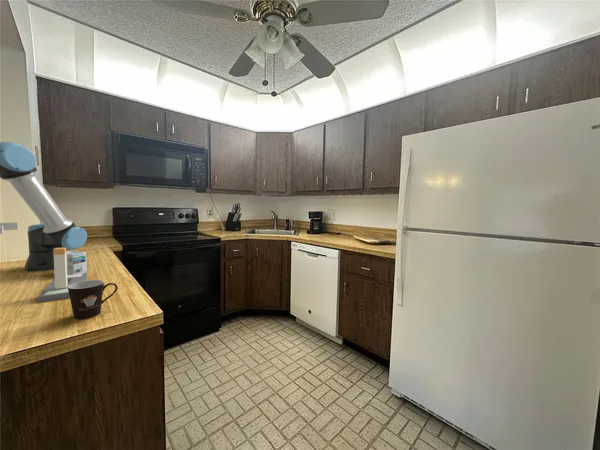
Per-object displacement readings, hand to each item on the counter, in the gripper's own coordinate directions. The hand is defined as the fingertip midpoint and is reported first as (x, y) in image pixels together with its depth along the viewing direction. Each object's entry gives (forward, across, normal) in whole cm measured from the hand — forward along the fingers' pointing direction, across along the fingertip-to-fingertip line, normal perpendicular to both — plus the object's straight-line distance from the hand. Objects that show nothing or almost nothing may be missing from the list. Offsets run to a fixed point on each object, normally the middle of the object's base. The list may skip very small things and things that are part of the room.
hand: (11, 227), depth 87 cm
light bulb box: (+11, -28, -26) cm, 40 cm away
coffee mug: (+25, +31, -26) cm, 47 cm away
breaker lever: (+13, +3, -23) cm, 27 cm away
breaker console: (+13, -3, -26) cm, 29 cm away
